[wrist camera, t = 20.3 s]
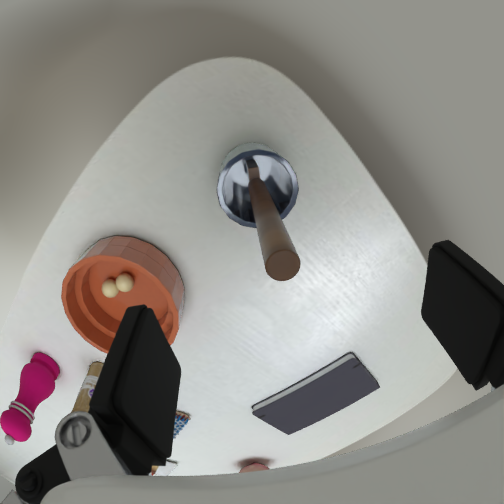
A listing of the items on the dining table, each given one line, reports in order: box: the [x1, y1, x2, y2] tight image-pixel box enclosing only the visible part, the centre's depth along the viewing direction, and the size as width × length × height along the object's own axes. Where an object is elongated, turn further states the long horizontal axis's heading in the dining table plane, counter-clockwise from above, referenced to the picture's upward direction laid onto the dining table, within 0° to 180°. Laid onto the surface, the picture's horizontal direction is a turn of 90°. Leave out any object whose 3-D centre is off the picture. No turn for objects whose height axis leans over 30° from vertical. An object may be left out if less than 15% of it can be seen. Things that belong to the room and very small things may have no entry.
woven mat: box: [173, 411, 191, 438], centre depth 50 cm, size 10×11×2 cm
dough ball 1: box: [102, 279, 119, 298], centre depth 36 cm, size 2×2×2 cm
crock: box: [217, 143, 299, 228], centre depth 29 cm, size 7×7×8 cm
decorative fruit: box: [239, 463, 269, 473], centre depth 57 cm, size 9×8×10 cm
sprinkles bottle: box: [71, 362, 104, 413], centre depth 39 cm, size 5×5×13 cm
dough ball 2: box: [116, 273, 134, 292], centre depth 36 cm, size 2×2×2 cm
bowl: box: [61, 236, 184, 354], centre depth 35 cm, size 15×15×6 cm
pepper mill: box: [0, 353, 60, 445], centre depth 35 cm, size 7×7×20 cm
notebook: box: [252, 352, 380, 435], centre depth 50 cm, size 13×2×21 cm
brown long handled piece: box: [246, 160, 300, 281], centre depth 23 cm, size 4×2×21 cm, turn 9°
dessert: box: [151, 461, 178, 476], centre depth 59 cm, size 12×12×5 cm
